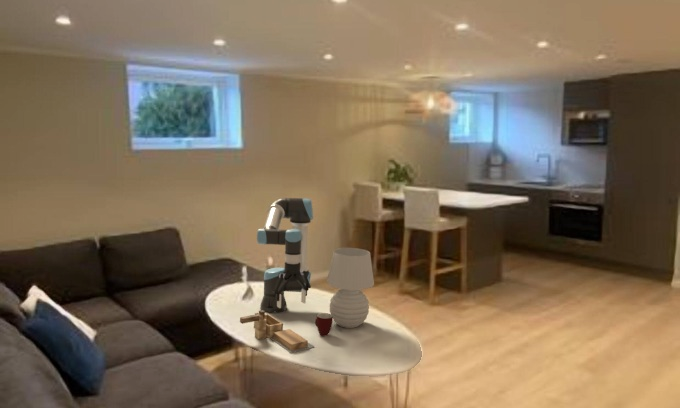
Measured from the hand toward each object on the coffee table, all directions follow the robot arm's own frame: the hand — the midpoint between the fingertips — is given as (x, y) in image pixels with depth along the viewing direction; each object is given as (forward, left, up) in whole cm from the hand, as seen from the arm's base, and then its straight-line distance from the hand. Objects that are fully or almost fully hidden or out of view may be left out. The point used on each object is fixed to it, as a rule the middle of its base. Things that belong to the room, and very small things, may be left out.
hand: (291, 304), depth 247 cm
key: (+14, -13, -10) cm, 21 cm away
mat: (-1, +1, -19) cm, 19 cm away
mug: (-20, -1, -19) cm, 27 cm away
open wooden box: (+5, -18, -19) cm, 27 cm away
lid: (0, +1, -19) cm, 19 cm away
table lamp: (-40, -5, -19) cm, 44 cm away
